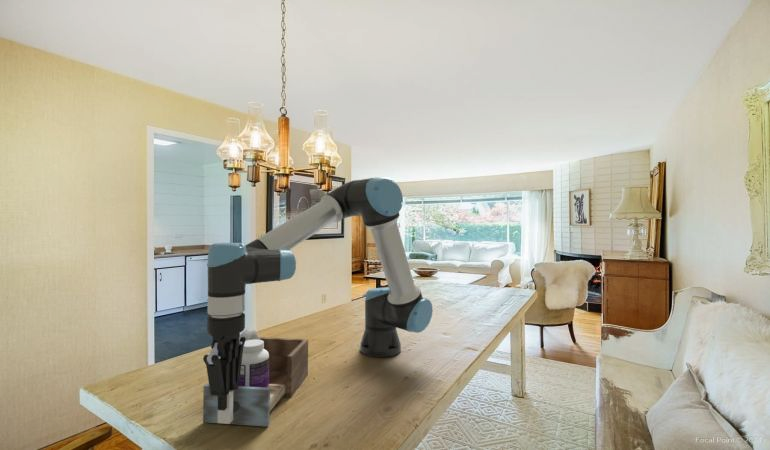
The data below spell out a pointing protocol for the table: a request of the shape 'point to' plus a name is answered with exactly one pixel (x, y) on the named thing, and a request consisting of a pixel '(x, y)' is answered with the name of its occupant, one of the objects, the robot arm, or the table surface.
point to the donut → (249, 334)
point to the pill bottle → (254, 365)
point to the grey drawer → (245, 404)
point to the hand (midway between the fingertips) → (225, 421)
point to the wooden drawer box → (287, 362)
